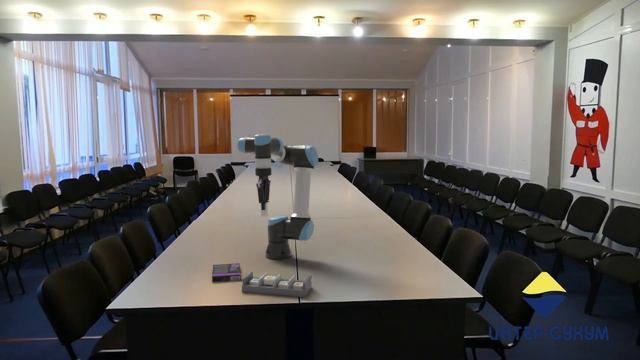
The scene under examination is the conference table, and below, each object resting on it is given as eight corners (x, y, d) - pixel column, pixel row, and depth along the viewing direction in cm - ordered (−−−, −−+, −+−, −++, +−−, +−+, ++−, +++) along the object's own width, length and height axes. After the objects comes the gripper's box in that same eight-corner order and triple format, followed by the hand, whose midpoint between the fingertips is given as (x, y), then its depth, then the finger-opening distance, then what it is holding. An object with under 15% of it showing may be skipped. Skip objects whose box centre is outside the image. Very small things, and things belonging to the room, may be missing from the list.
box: (241, 281, 220) (240, 268, 238) (240, 275, 219) (240, 262, 238) (211, 283, 217) (213, 269, 236) (211, 276, 216) (213, 263, 235)
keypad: (251, 282, 216) (251, 270, 215) (311, 287, 208) (311, 275, 208) (241, 291, 204) (241, 279, 203) (304, 297, 197) (304, 284, 196)
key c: (295, 287, 206) (295, 281, 206) (304, 287, 205) (304, 282, 205) (292, 290, 202) (292, 284, 202) (302, 291, 201) (302, 285, 201)
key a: (281, 285, 208) (281, 280, 208) (290, 286, 207) (290, 281, 206) (278, 289, 204) (278, 283, 203) (287, 290, 203) (287, 284, 202)
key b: (253, 283, 211) (253, 277, 211) (262, 284, 210) (261, 278, 210) (249, 286, 207) (249, 281, 207) (258, 287, 206) (258, 281, 206)
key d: (267, 280, 209) (267, 275, 209) (275, 281, 208) (275, 275, 208) (263, 284, 205) (263, 278, 205) (272, 284, 204) (272, 279, 204)
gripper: (260, 165, 217) (261, 213, 220) (250, 168, 205) (251, 218, 208) (275, 166, 215) (276, 213, 218) (265, 168, 203) (266, 219, 206)
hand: (264, 216), depth 213 cm, fingers closed
